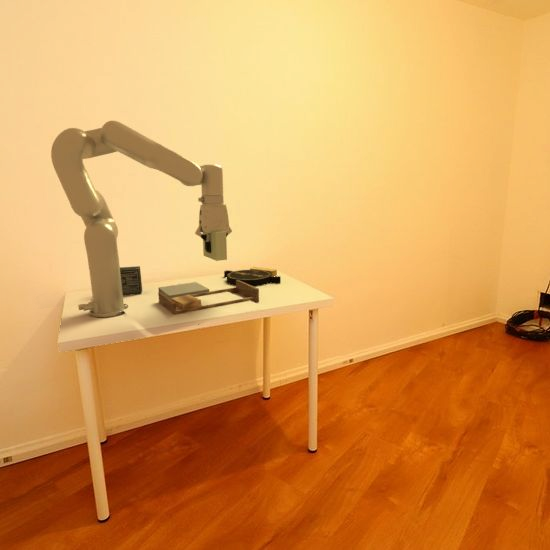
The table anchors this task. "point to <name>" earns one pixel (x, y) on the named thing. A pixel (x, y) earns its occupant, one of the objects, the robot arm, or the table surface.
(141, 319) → the table surface
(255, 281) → the decorative sign
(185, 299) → the upper offcut
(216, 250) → the pale green block
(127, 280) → the small box
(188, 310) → the frame
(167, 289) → the grey board
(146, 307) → the table surface
